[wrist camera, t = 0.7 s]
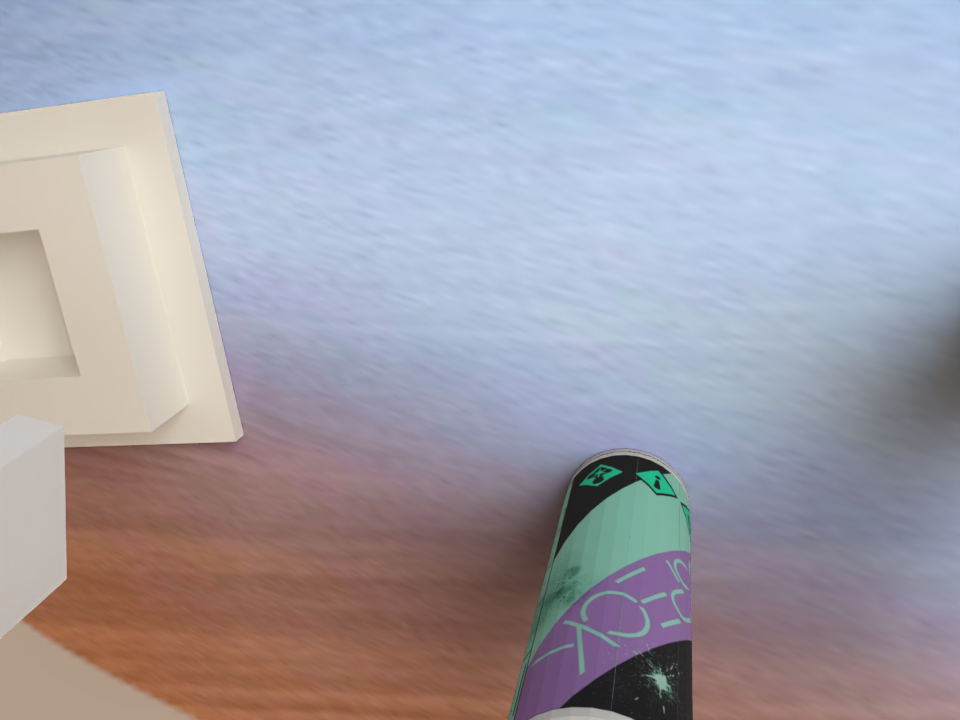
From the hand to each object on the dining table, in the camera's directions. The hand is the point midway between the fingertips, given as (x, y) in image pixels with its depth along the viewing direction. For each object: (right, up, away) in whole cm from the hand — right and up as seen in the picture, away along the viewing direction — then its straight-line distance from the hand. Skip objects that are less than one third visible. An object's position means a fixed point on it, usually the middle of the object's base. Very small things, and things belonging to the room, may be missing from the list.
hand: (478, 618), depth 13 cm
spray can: (+7, -3, +28) cm, 29 cm away
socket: (-20, +7, +30) cm, 37 cm away
